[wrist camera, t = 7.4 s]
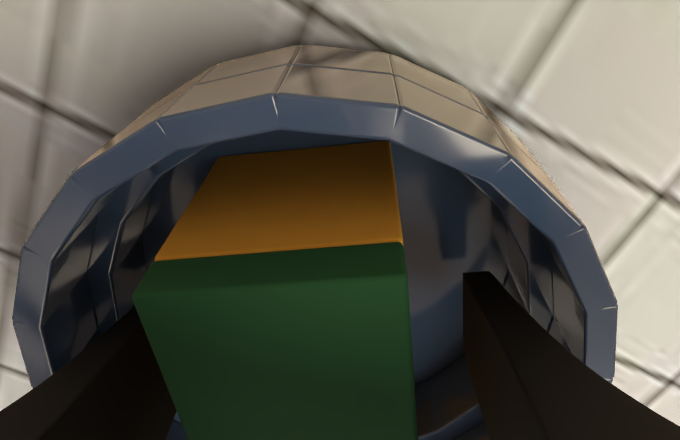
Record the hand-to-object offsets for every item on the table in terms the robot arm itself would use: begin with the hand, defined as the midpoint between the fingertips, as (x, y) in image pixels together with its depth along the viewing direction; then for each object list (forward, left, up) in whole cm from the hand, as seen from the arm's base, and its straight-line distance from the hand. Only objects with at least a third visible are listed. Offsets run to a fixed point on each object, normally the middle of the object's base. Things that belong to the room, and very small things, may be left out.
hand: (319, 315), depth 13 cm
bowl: (0, 0, -2) cm, 2 cm away
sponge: (0, 0, -2) cm, 2 cm away
